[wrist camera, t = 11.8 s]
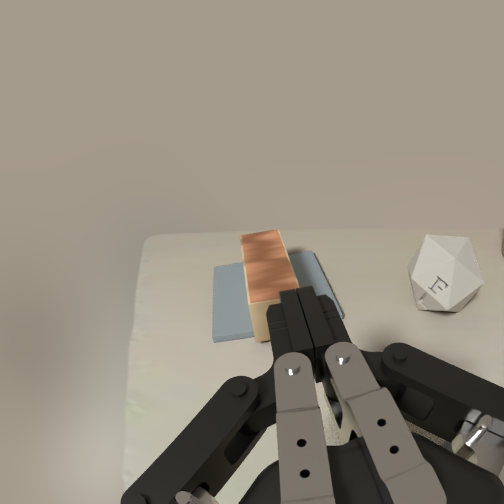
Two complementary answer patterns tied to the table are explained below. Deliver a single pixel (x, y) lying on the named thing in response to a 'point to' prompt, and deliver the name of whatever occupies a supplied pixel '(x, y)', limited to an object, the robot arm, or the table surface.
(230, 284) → the mat
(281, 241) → the beech block
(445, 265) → the die
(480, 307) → the table surface
